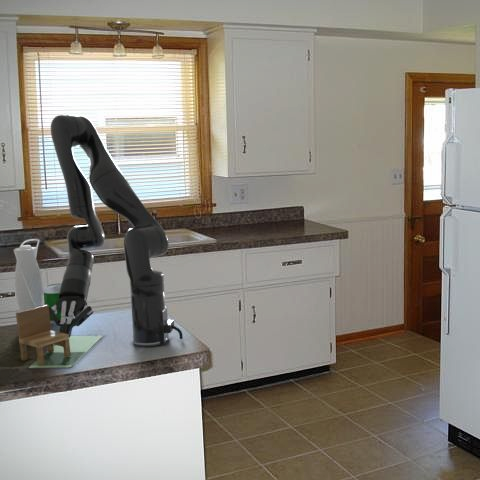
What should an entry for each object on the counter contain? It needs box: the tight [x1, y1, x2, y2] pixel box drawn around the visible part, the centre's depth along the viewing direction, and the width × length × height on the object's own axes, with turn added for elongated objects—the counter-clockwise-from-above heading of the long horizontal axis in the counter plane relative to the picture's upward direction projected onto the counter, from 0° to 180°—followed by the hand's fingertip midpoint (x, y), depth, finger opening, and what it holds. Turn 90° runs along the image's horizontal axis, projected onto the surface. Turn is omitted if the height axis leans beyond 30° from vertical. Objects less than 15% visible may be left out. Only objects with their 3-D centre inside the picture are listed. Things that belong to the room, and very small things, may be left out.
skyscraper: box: [13, 238, 44, 312], centre depth 216 cm, size 8×8×28 cm
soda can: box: [43, 282, 62, 326], centre depth 227 cm, size 8×8×12 cm
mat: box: [28, 334, 104, 369], centre depth 200 cm, size 11×28×1 cm, turn 0°
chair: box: [15, 304, 71, 366], centre depth 192 cm, size 9×9×13 cm
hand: (63, 338), depth 197 cm, fingers closed
